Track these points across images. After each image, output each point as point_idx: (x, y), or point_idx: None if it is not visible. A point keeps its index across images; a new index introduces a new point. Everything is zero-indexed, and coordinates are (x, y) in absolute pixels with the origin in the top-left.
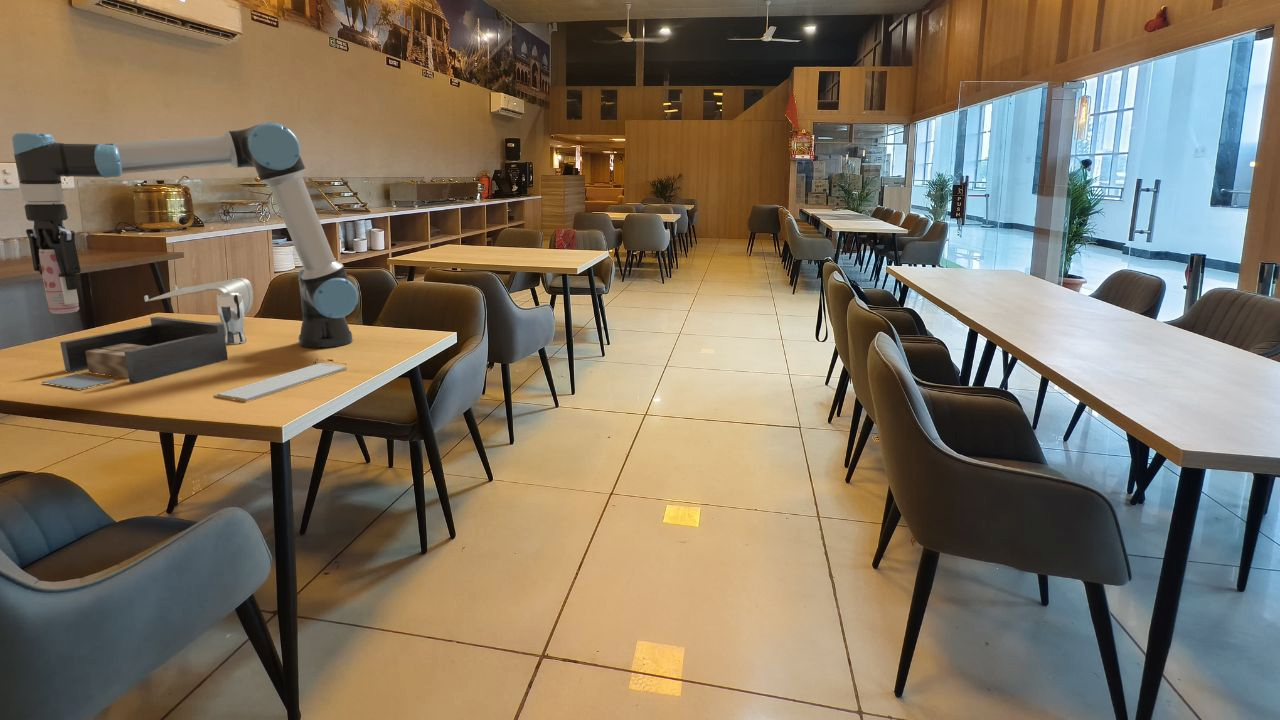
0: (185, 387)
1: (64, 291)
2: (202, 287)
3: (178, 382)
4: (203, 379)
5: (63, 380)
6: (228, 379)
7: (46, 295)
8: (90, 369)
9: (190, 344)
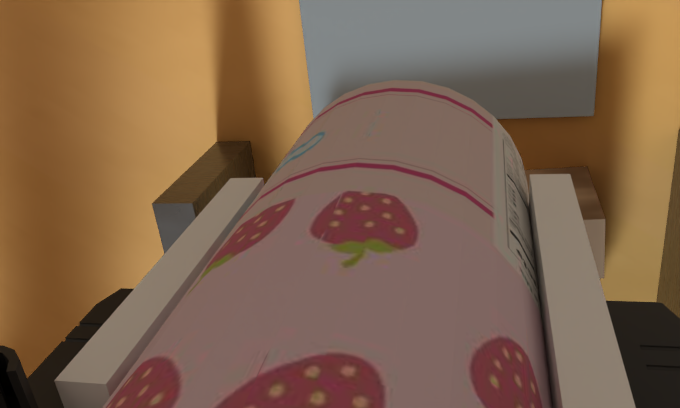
0: (22, 187)
1: (171, 250)
2: None
3: (108, 219)
4: (83, 277)
5: (523, 11)
6: (22, 305)
7: (572, 210)
8: (573, 175)
9: None
